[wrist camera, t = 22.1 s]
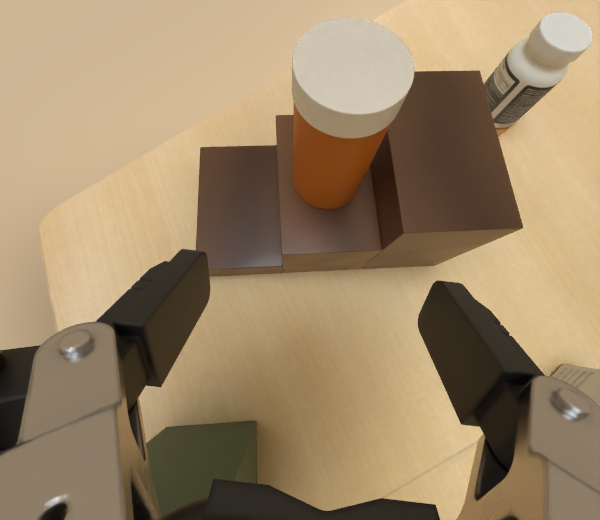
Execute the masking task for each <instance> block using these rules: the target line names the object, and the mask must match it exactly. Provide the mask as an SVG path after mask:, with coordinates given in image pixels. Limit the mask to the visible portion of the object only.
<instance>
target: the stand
mask: <svg viewBox="0 0 600 520" xmlns="http://www.w3.org/2000/svg"><path fill="white" fill-rule="evenodd" d="M146 445H147V451H148V457H149V463H150V469H151V473H152V477H153V481H154V485H155V489H156V493H157V498H158V503H159V508H160V514H161V517H162V516H163V515H165V514H166V513H168V512H169V511H171V510H173V509H175V508H177V507H179V506H181V505H182V504H184V503H187V502H189V501H192V500H195V499H197V498H200V497H204V496H208V495H209V493H210V489H211V486H212V482H213V479H221V480H229V481H238V482H246V483H255V484H257V441H256V421H247V422H233V423H219V424H205V425H191V426H177V427H166V428H165V429H164V430H162V431H161V432H160V433H159V434H158V435H156V436H155V437H154V438H153V439H151V440H150V441H149V442H148V443H146Z"/></svg>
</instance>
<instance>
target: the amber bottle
mask: <svg viewBox="0 0 600 520" xmlns="http://www.w3.org/2000/svg"><path fill="white" fill-rule="evenodd" d="M413 79H414V62H413V58H412V55H411V53H410V51H409V49H408V47H407V46H406V44H405V43H404V42H403V41H402V40H401V38H399V37H398V36H397V35H396V34H395V33H394V32H392V31H391V30H389V29H388V28H386V27H384V26H382V25H380V24H378V23H375V22H373V21H370V20H365V19H360V18H349V17H347V18H336V19H331V20H328V21H324V22H322V23H320V24H318V25H316V26H314V27H312V28H311V29H309V30H308V31H307V32H306V33H305V34H304V35H303V36H302V37H301V38H300V40H299V41H298V43H297V45H296V47H295V49H294V52H293V57H292V95H293V100H294V140H293V183H294V187H295V189H296V191H297V193H298V194H299V196H300V197H301V198H302V199H303V200H304V201H305V202H307V203H308V204H310V205H312V206H314V207H317V208H321V209H334V208H338V207H341V206H343V205H345V204H347V203H348V202H349V201H351V200H352V199H353V197H354V196H355V195H356V193H357V191H358V189H359V187H360V185H361V183H362V181H363V179H364V177H365V175H366V173H367V171H368V169H369V166H370V164H371V162H372V160H373V158H374V156H375V154H376V152H377V150H378V148H379V146H380V144H381V142H382V140H383V138H384V136H385V134H386V132H387V130H388V128H389V126H390V124H391V122H392V121H393V120H394V119H395V117H396V115H397V114H398V112H399V110H400V108H401V106H402V104H403V102H404V100H405V98H406V96H407V94H408V92H409V90H410V88H411V85H412V83H413Z"/></svg>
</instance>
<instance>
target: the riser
mask: <svg viewBox="0 0 600 520" xmlns="http://www.w3.org/2000/svg"><path fill="white" fill-rule="evenodd" d="M276 136H277V145H272V146H234V147H201V148H200V170H199V193H198V216H197V239H196V251H203V252H206V254H207V258H208V269H209V276H221V275H242V274H264V273H283V272H284V273H285V272H306V271H327V270H348V269H370V268H391V267H412V266H434V265H436V264H439V263H441V262H444V261H446V260H448V259H451V258H453V257H455V256H458V255H460V254H463V253H465V252H467V251H470V250H472V249H475V248H477V247H479V246H482V245H484V244H486V243H489V242H491V241H494V240H496V239H498V238H501V237H503V236H505V235H508V234H510V233H513V232H515V231H517V230H520V229H522V228H523V225H522V222H521V218H520V214H519V211H518V207H517V204H516V200H515V196H514V193H513V189H512V186H511V182H510V178H509V175H508V171H507V168H506V164H505V160H504V157H503V153H502V150H501V146H500V143H499V139H498V135H497V132H496V128H495V125H494V121H493V117H492V114H491V110H490V107H489V103H488V99H487V96H486V92H485V89H484V85H483V81H482V78H481V74H480V71H423V72H414V79H413V83H412V85H411V88H410V90H409V92H408V94H407V96H406V98H405V100H404V102H403V104H402V106H401V108H400V110H399V112H398V114H397V115H396V117H395V119H394V120H393V121H392V122H391V124H390V126H389V128H388V130H387V132H386V134H385V136H384V138H383V140H382V142H381V144H380V146H379V148H378V150H377V152H376V154H375V156H374V158H373V160H372V162H371V164H370V166H369V169H368V171H367V173H366V175H365V177H364V179H363V181H362V183H361V185H360V187H359V189H358V191H357V193H356V195H355V196H354V197H353V199H352V200H351V201H349V202H348V203H347V204H345V205H343V206H341V207H338V208H334V209H321V208H317V207H314V206H312V205H310V204H308V203H307V202H305V201H304V200H303V199H302V198H301V197H300V196H299V194H298V193H297V191H296V189H295V187H294V183H293V140H294V115H277V116H276Z"/></svg>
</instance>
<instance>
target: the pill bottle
mask: <svg viewBox="0 0 600 520" xmlns="http://www.w3.org/2000/svg"><path fill="white" fill-rule="evenodd" d="M592 38H593V36H592V32H591V29H590V28H589V26H588V25H587V24H586V23H585V22H584V21H583V20H581V19H580V18H578V17H576V16H574V15H572V14H568V13H562V12H556V13H551V14H549V15H547V16H545V17H544V18H543V19H542V20H541V21H540V22H539V23H538V24H537V26H536V27H535V28H534V29H533V30H532V32H531V34H530V37H529V38H527V39H524V40H522V41H521V42H519V43H517V44H516V45H515V46H514V47H513V48H512V49H511V50H510V51H509V53H508V54H507V55H506V56H505V58H504V59H503V60H502V61H501V63H500V64H499V65H498V67H497V68H496V69H495V71H494V72H493V73H492V74H491V76H490V77H489V78H488V79H487V81H486V82H485V83H484V84H483V85H484V89H485V92H486V96H487V99H488V103H489V107H490V110H491V114H492V117H493V121H494V125H495V128H496V132H497V134H500V133H502V132H504V131H506V130H507V129H508V128H510V127H511V126H512V125H513V124H514V123H515V122H516V121H517V120H518V119H520V118H521V117H522V116H523V115H524V114H525V113H526V112H527V111H528V110H529V109H530V108H531V107H533V106H534V105H535V104H536V103H537V102H538V101H539V100H540V99H541V98H542V97H544V96H545V95H546V94H547V93H548V92H549V91H550V90H551V89H552V88H553V87H554V86H555V85H557V84H558V83H559V82H560V81H561V80H562V78H563V77H564V75H565V74H566V72H567V69H568V63H570V62H573V61H574V60H576V59H577V58H578V57H579V56H580V55H581V54H582V53H583V52H584V51H585V50H586V49H587V48H588V47H589V46H590V44H591V42H592Z"/></svg>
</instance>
